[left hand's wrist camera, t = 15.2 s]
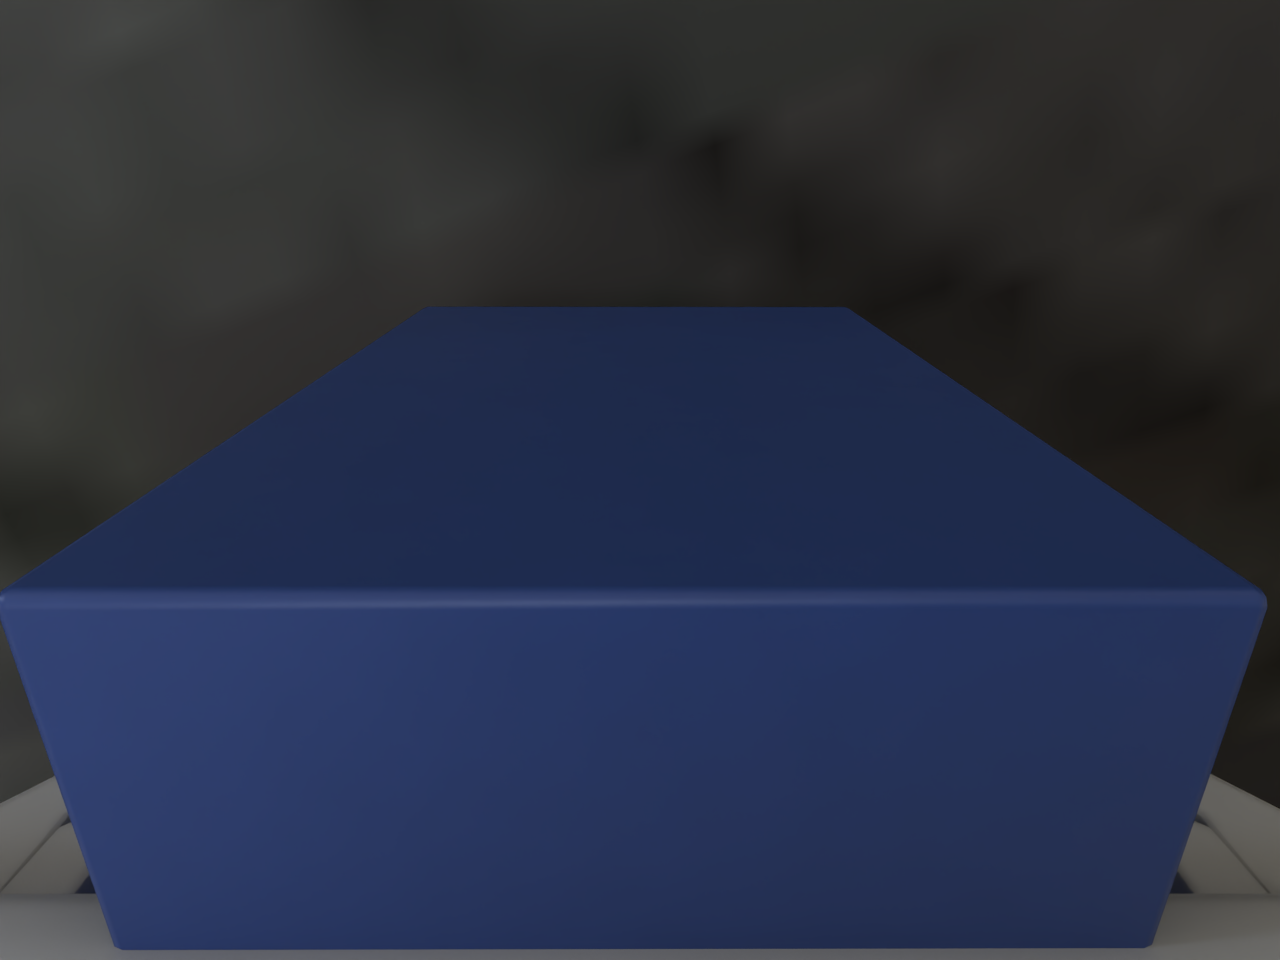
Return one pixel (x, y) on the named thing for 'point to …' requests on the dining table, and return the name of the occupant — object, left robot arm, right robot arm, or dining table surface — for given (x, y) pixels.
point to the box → (632, 657)
